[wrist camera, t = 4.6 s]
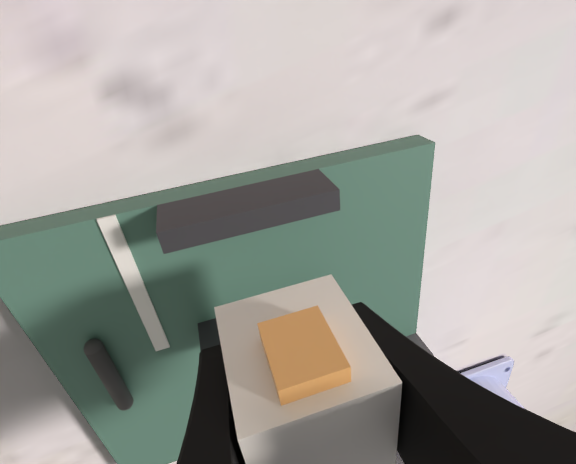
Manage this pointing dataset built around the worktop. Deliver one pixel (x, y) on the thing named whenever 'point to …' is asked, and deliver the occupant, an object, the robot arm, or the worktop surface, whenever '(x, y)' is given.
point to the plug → (308, 379)
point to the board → (207, 276)
